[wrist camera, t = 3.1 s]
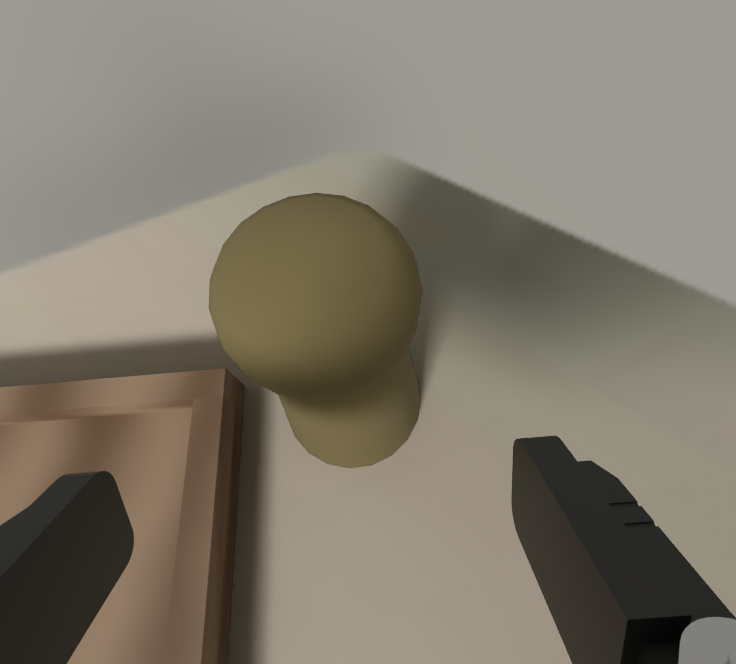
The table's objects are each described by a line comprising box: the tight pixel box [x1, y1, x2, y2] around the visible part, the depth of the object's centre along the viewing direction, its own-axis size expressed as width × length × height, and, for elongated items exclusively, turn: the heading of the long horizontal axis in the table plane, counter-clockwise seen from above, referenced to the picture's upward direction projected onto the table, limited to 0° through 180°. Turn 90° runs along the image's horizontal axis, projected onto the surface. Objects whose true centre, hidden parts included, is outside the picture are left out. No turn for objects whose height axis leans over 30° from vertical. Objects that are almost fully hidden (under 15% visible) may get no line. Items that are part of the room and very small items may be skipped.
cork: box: [209, 193, 422, 468], centre depth 14 cm, size 6×6×11 cm
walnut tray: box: [0, 368, 244, 664], centre depth 15 cm, size 14×18×2 cm
